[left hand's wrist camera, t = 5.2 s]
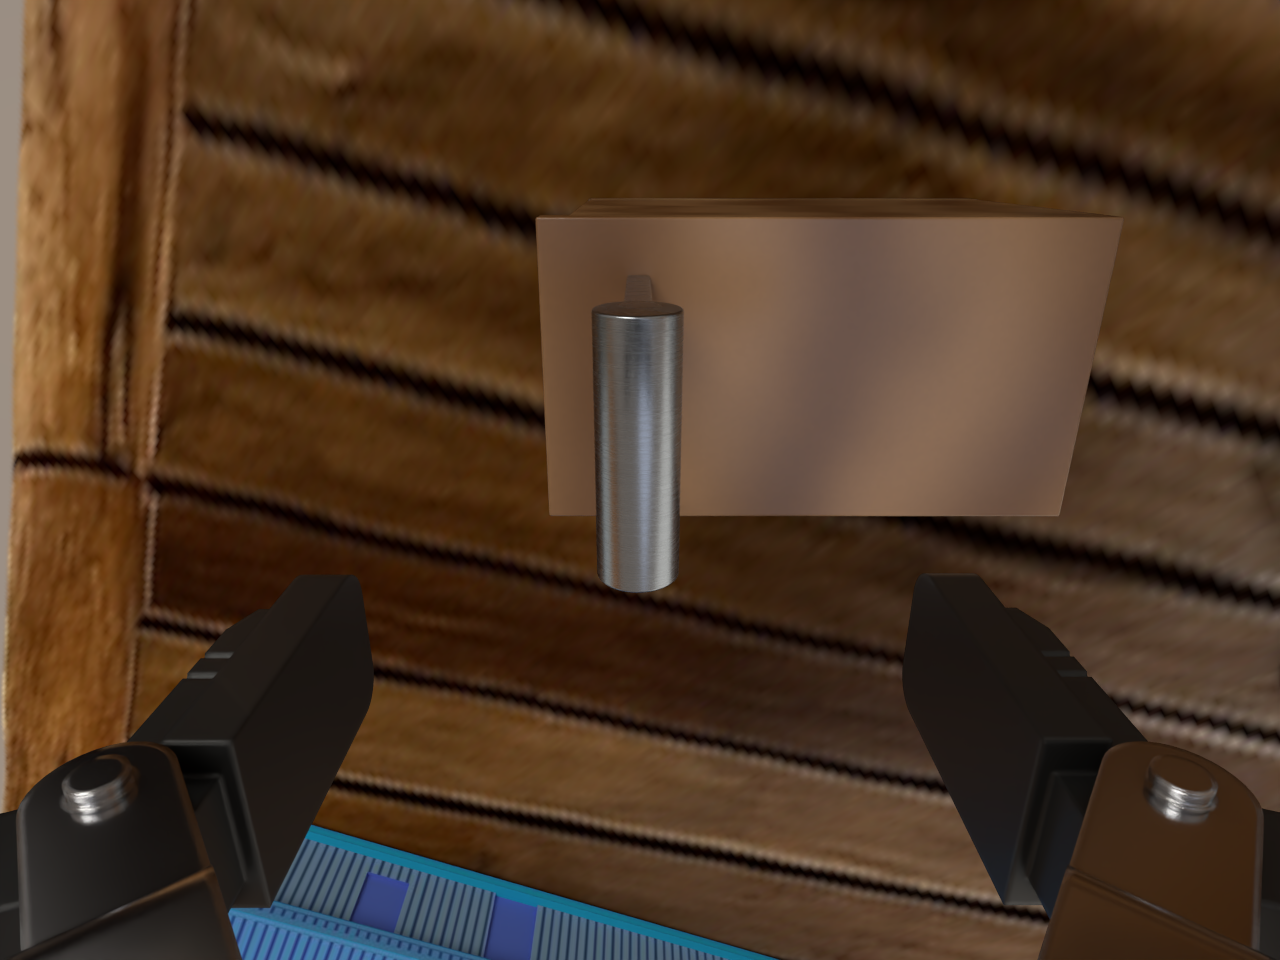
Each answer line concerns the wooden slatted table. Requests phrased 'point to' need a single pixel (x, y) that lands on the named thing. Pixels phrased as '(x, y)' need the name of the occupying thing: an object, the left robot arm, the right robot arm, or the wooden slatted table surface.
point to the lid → (811, 368)
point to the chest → (808, 207)
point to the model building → (439, 915)
